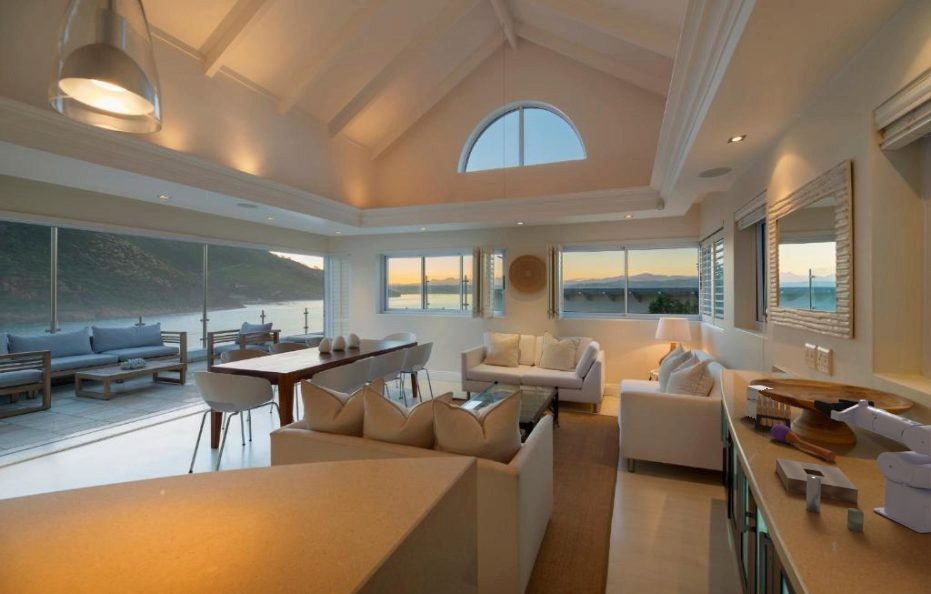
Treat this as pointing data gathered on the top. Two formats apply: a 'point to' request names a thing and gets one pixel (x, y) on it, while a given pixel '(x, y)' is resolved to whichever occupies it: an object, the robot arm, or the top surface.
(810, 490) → the long pin
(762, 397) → the supplement box
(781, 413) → the ammunition clip
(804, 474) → the hole board
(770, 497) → the top surface
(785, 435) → the purple and brown maraca
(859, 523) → the green rectangular block
